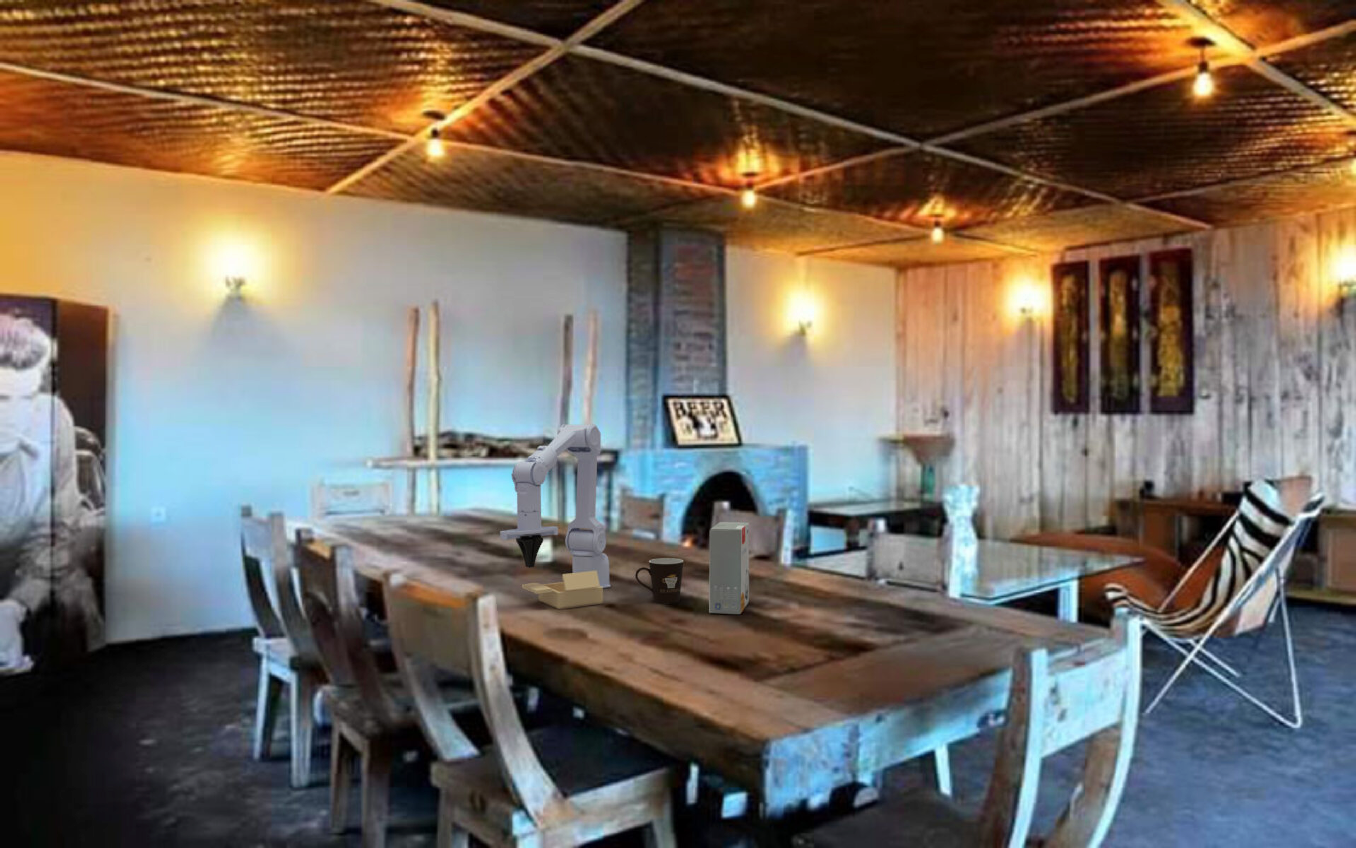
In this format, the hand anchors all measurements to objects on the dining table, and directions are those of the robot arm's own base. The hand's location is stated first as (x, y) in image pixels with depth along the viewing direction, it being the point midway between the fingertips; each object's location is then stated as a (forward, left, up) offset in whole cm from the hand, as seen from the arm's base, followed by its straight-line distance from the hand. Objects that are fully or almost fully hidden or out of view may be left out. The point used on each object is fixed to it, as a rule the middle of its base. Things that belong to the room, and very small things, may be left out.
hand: (529, 566), depth 229 cm
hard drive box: (-40, +27, -10) cm, 49 cm away
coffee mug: (-30, +11, -10) cm, 34 cm away
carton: (-11, 0, -10) cm, 15 cm away
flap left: (-11, +6, -4) cm, 13 cm away
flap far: (-2, 0, -5) cm, 5 cm away
